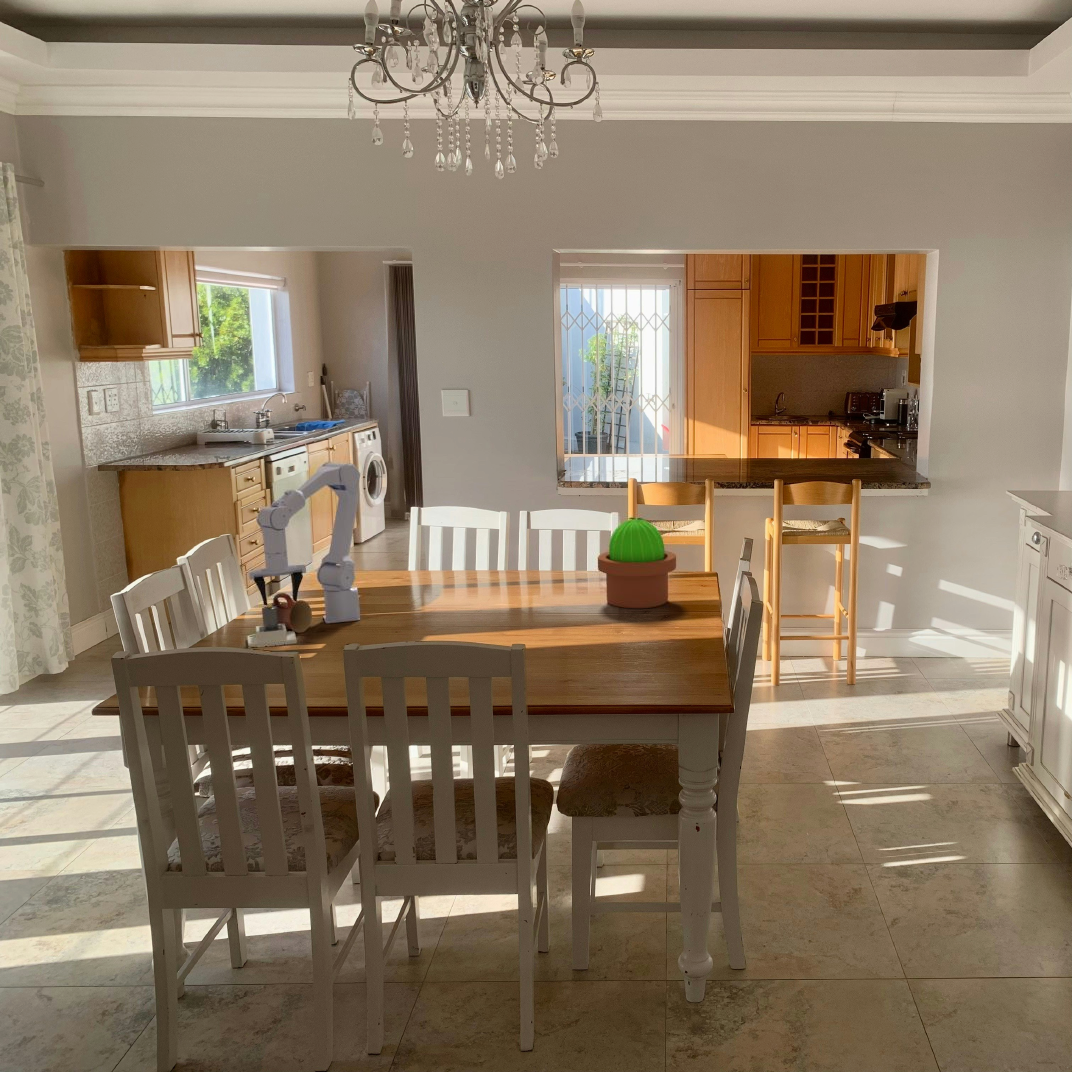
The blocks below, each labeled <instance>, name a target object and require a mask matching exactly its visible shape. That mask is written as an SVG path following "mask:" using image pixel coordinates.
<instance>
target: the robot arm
mask: <svg viewBox="0 0 1072 1072" xmlns="http://www.w3.org/2000/svg"><path fill="white" fill-rule="evenodd" d="M360 478H361V472H360V470H359V469H358V468H357V466H356V465H355V464H354V463H351V462H347V463H344V462H343V463H341V462H332V461H326V462H324V463H322V465H320V466H318V467H317V470H316V472H315V473H314V474H313V475H311V476H310V477H309V479H307V480H306V481H305V482H304V483H302V485H301V486H300V487H298V488H297V489H294V488H293V489H286V490H285V491H284V492H283V495H282V496H281V497H279V498H277V500H274V501H273V502H271V505H270V506H264V507H262V508H261V509H260V510H259V512H258V514H257V518H256V519H255V520H256V524H257V525H258V526H259V527H260V531H261V534H262V540H263V550H264V551H263V552H264V560H265V561H264V562H265V567H264V568H260V569H254V570H248V579H249V580H253V581H254V583H255V585H256V586H257V589H258V591H259V593H260V596H261V598H262V602H263V603H262V604H263V605H264V606H266V605H268V598H267V593H266V590H267V589H266V581H265V578H270V577H279V576H288V575H290V578H291V580H290V581H291V585H292V587H291V589H292V591H291V592H292V600H293V601H294V602H295V601H298V593H299V590H300V586H301V583H302V581H303V579H304V575H303V574H306V573H307V567H306V564H299V565H298V564H297V565H295V564H294V565H292V564H291V565H289V559H288V549H287V548H288V545H287V537H286V534H287V533H286V528H287V527H288V525H289V523H290V519H292V518H293V516H294V515H296V514H297V513H298V512H299V511H301V510H302V509H304V508H305V506H306V501H307V500H308V498H310V497H312V496H313V495H314V494H315V493H317V492H319V491H320V490H321V489H323V488H325V487H328V488H330V489H331V490H332V492H334V493H335V495H336V496H337V499H338V501H337V505H336V512H335V516H334V524H333V529H332V534H331V540H330V545H329V546H330V547H329V552H328V553H327V554H326V555H325V556H324V557H322V559H321V563H320V565H319V567H318V569H317V572H316V579H317V582H318V583H319V584H320V585H321V588H322V589H323V596H324V598H323V599H324V600H323V601H324V611H325V612H324V613H325V615H323V620H324V622H325V624H336V623H343V622H354V621H360V620H361V616H360V615H361V614H360V612H361V609H360V600H359V598H360V597H359V592H358V587H357V586H353V585H354V582H355V580H356V573H355V565H356V564H355V562H354V561H353V559H352V558H351V557H350V551H351V546H352V545H351V544H352V539H353V534H354V528H355V522H356V516H357V510H358V505H359V500H360V499H359V498H360V488H359V484H360Z"/></svg>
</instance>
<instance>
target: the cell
mask: <svg viewBox="0 0 1072 1072" xmlns="http://www.w3.org/2000/svg"><path fill="white" fill-rule="evenodd" d="M261 615H262V626H263V629H264V632H268V631H277V630H279V628H278V615H277V607H276V606H272V604H271V603H270V604H269V603H267V605H265V606H264V607H262V608H261Z"/></svg>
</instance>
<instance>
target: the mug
mask: <svg viewBox="0 0 1072 1072" xmlns="http://www.w3.org/2000/svg"><path fill="white" fill-rule="evenodd" d="M280 598H281V599H284V600H285V601H280V600H279V599H280ZM270 604H272V606H276V607H277V615H278V624H283V623H285V627H286V630H289V631H294V633H298V634H301V633H304V632H306V631H307V630H308V629H309V627H310V625H311V623H312V619H313V617H312V616H313V614H312V608H311V606H310V604H309V603H308V602H307V601H305V600H304V599H303V600H302V599H301V600H300V599H299V600H297V601H294V600H293V598H292V597H291V596H290V594H288V593H286V592H280V593H277V594H275V595H274V597H273V599H272V603H270Z"/></svg>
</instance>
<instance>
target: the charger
mask: <svg viewBox="0 0 1072 1072" xmlns="http://www.w3.org/2000/svg"><path fill="white" fill-rule="evenodd" d="M278 628H279V630H277V631H268V632H264V629H263V625H257V626H255V632H256V633H254V634H249V635H247V647H248V646H257V647H258V648H265V646H267V647H273V646H275V645H276V646H282V645H283V646H284V644H285V645H292V644H297V637H296V632H295V631H293V630H287V629H286V627H285V623H283V624H278ZM248 649H251V648H250V647H248Z"/></svg>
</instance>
